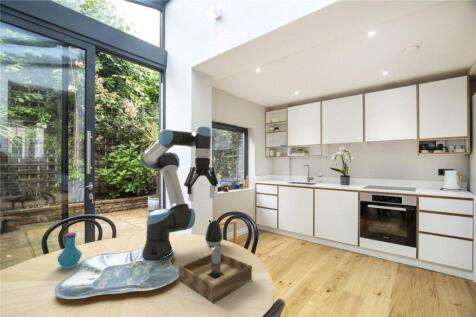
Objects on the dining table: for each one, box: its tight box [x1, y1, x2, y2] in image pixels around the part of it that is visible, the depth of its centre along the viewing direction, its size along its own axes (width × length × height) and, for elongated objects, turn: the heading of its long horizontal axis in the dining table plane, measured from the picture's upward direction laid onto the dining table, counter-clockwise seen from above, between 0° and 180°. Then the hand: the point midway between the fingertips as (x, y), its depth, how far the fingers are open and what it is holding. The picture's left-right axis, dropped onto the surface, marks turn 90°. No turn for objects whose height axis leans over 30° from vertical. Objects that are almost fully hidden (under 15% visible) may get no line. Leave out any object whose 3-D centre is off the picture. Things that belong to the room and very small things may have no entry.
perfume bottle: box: [57, 232, 83, 270], centre depth 104 cm, size 9×9×15 cm
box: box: [178, 252, 253, 304], centre depth 94 cm, size 22×22×6 cm
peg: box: [211, 245, 222, 279], centre depth 94 cm, size 4×4×14 cm
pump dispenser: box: [204, 219, 223, 248], centre depth 134 cm, size 10×10×15 cm
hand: (201, 199), depth 111 cm, fingers open, 13 cm apart
